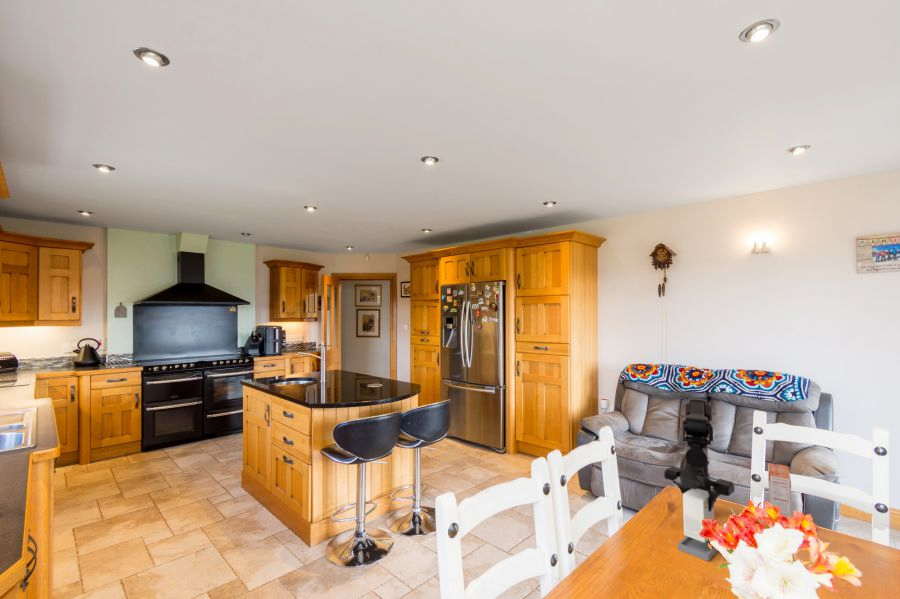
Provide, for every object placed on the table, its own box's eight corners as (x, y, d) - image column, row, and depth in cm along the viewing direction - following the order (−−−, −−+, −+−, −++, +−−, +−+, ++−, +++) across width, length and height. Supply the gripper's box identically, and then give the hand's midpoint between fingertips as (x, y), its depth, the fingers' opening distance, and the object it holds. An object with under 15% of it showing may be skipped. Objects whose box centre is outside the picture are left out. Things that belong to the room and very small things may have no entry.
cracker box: (769, 521, 153) (767, 462, 153) (790, 526, 149) (788, 465, 150) (770, 538, 141) (768, 474, 142) (793, 543, 138) (791, 478, 138)
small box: (693, 526, 140) (692, 486, 141) (715, 534, 135) (714, 492, 136) (683, 535, 135) (682, 493, 136) (704, 543, 130) (704, 500, 131)
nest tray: (691, 537, 142) (691, 531, 142) (721, 547, 136) (721, 542, 136) (677, 549, 135) (677, 543, 135) (708, 561, 128) (708, 555, 128)
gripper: (656, 456, 138) (657, 505, 138) (721, 472, 124) (722, 527, 123) (671, 448, 145) (672, 495, 145) (734, 463, 131) (735, 515, 131)
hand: (698, 507), depth 136 cm, fingers closed on small box, 6 cm apart
